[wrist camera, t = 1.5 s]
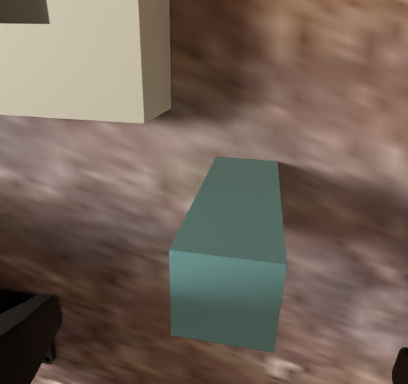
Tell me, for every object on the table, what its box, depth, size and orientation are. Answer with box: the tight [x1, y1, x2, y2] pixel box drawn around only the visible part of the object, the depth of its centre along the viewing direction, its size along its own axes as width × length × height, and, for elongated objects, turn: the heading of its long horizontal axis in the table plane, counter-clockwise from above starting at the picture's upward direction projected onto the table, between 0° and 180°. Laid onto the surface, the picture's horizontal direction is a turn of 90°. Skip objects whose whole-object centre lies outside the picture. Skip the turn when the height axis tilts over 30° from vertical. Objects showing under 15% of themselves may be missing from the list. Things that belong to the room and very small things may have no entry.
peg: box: [169, 157, 287, 353], centre depth 13 cm, size 3×3×9 cm
